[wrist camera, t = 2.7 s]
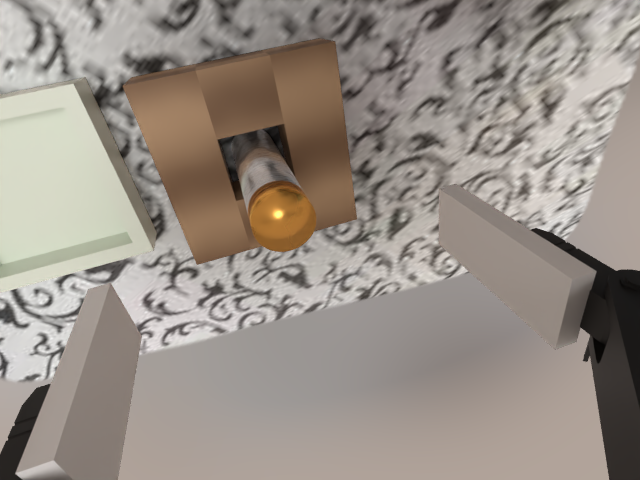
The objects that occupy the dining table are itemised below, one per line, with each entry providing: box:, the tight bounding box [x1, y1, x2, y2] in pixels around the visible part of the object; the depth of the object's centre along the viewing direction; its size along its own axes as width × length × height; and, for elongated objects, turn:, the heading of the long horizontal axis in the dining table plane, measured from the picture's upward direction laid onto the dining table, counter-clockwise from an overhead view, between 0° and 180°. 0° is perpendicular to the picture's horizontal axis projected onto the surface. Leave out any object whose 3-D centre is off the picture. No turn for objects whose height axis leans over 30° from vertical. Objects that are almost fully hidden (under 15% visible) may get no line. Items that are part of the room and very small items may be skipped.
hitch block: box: [123, 38, 357, 265], centre depth 26 cm, size 12×12×4 cm
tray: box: [0, 77, 157, 293], centre depth 24 cm, size 11×11×3 cm
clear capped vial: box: [231, 129, 316, 252], centre depth 22 cm, size 3×3×12 cm
